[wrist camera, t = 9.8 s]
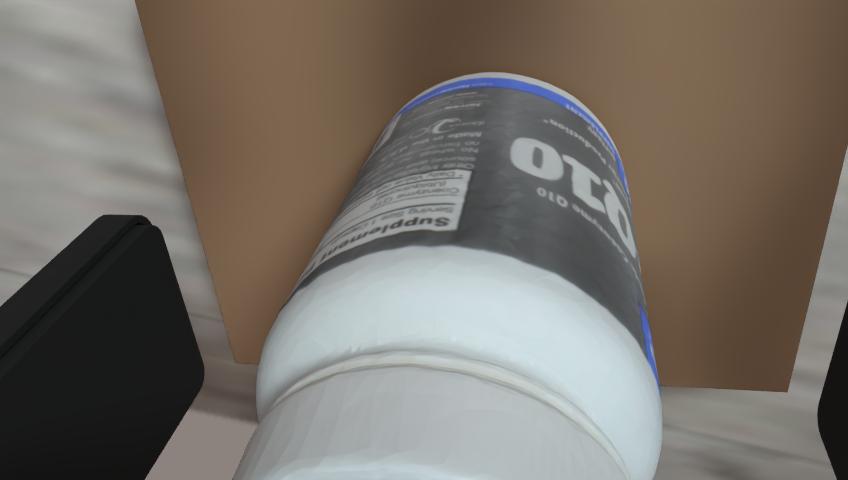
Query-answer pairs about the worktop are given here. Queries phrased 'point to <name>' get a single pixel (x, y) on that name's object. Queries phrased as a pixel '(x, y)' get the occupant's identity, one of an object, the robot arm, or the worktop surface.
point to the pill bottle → (469, 306)
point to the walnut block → (565, 69)
